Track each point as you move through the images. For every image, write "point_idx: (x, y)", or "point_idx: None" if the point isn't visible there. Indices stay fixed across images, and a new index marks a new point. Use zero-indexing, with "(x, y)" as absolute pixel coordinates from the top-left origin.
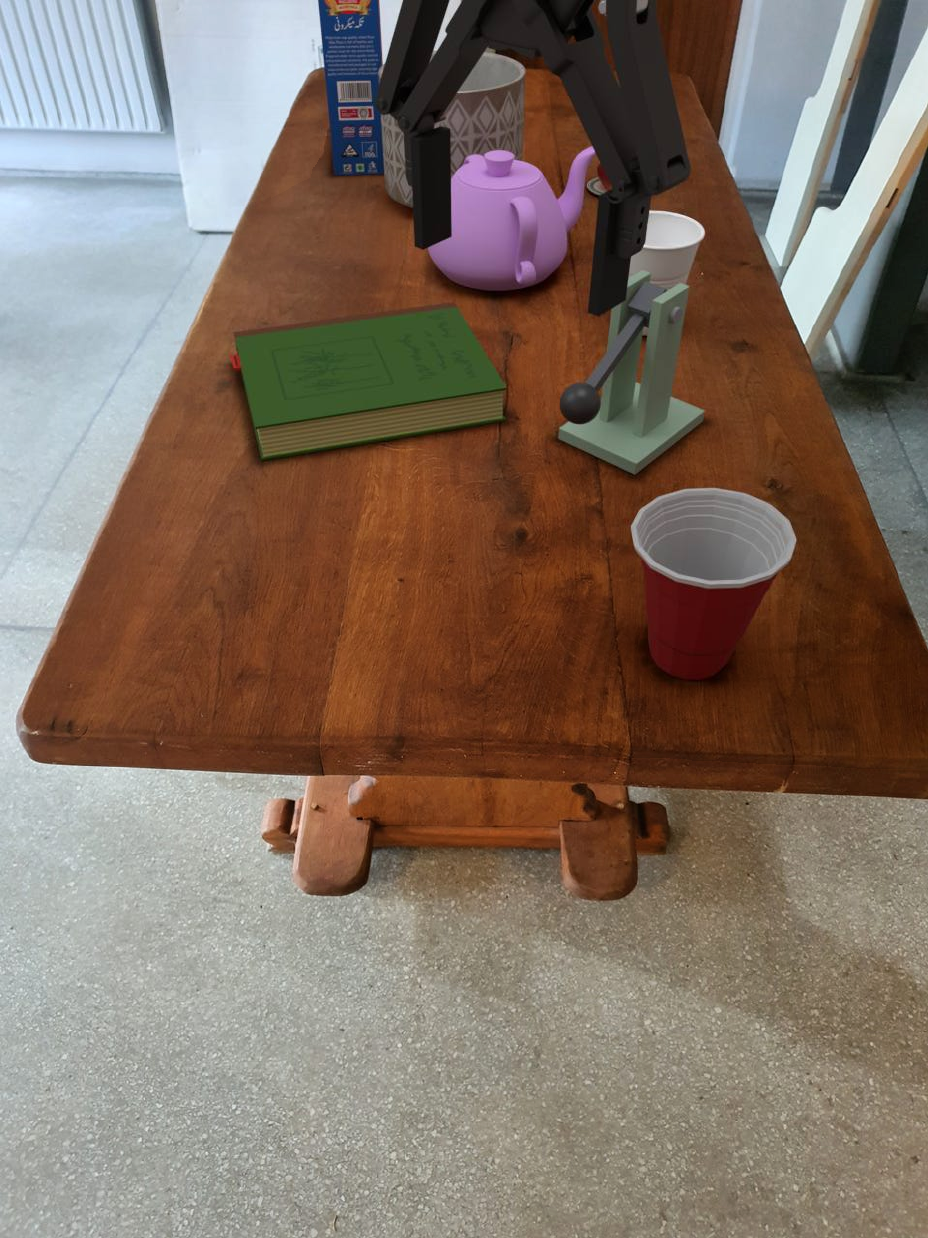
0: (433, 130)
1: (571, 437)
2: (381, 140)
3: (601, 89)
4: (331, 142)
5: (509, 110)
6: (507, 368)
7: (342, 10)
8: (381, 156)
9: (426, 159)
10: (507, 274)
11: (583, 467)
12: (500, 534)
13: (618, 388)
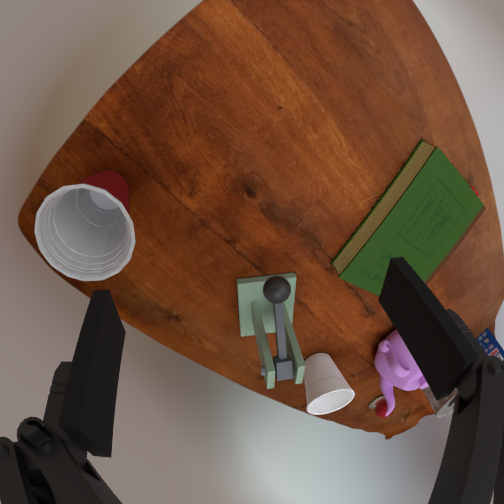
0: (455, 385)
1: (285, 276)
2: None
3: None
4: (494, 337)
5: (435, 400)
6: (356, 295)
7: None
8: None
9: (445, 348)
10: (392, 340)
11: (264, 264)
12: (261, 184)
13: None
